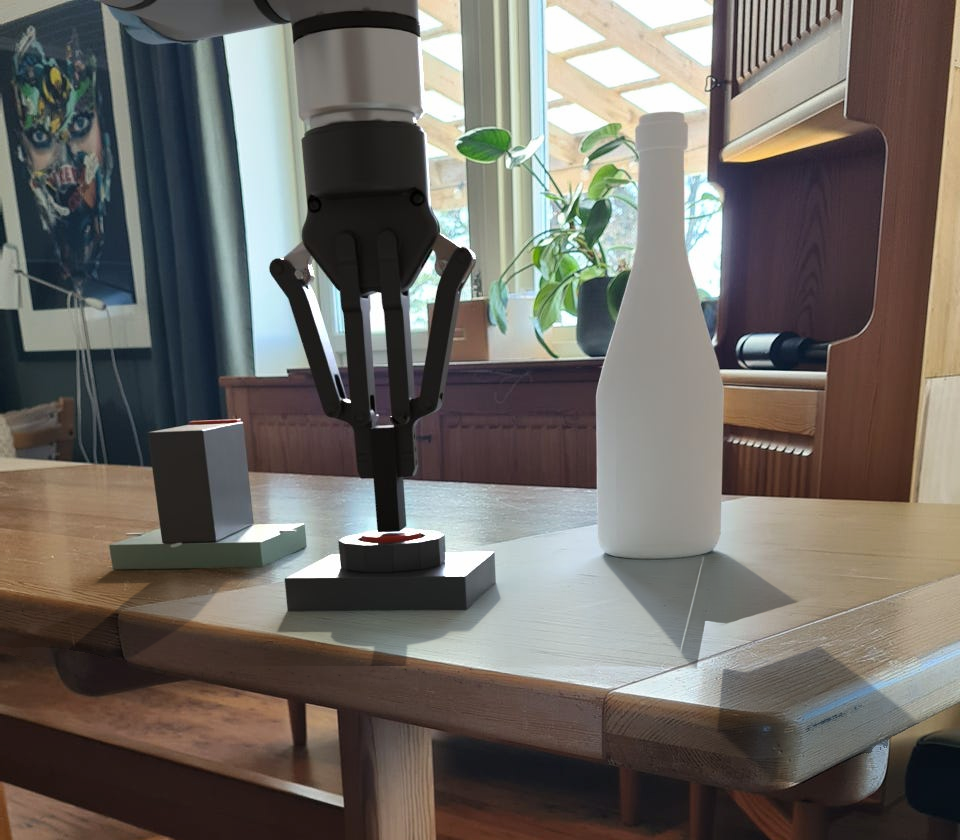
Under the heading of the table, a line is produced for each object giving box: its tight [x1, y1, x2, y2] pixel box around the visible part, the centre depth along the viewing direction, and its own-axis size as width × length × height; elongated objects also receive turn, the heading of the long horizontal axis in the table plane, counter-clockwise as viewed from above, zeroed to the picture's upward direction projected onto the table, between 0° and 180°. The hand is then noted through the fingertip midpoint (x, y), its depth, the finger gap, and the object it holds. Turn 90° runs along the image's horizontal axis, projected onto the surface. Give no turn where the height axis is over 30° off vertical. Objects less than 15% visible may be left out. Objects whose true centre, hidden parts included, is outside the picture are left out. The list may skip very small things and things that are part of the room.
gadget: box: [147, 418, 255, 543], centre depth 106 cm, size 11×4×9 cm, turn 174°
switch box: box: [284, 529, 497, 612], centre depth 86 cm, size 12×10×4 cm
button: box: [361, 528, 422, 542], centre depth 86 cm, size 4×4×2 cm
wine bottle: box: [595, 111, 725, 560], centre depth 95 cm, size 10×10×30 cm
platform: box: [108, 523, 308, 571], centre depth 108 cm, size 15×15×2 cm
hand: (392, 528), depth 85 cm, fingers closed
